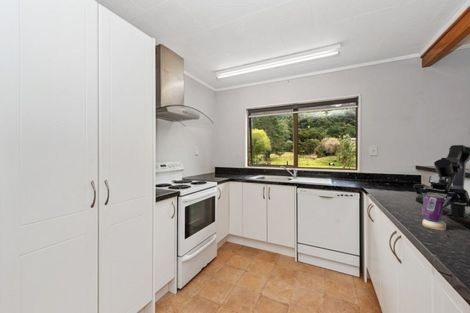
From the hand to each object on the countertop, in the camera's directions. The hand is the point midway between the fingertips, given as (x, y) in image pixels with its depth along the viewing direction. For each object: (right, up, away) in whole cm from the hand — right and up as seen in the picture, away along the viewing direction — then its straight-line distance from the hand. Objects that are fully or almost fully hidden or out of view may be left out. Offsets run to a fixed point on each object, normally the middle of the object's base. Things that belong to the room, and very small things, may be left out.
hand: (433, 205), depth 95 cm
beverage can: (+1, -7, +2) cm, 8 cm away
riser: (+1, -10, +1) cm, 11 cm away
